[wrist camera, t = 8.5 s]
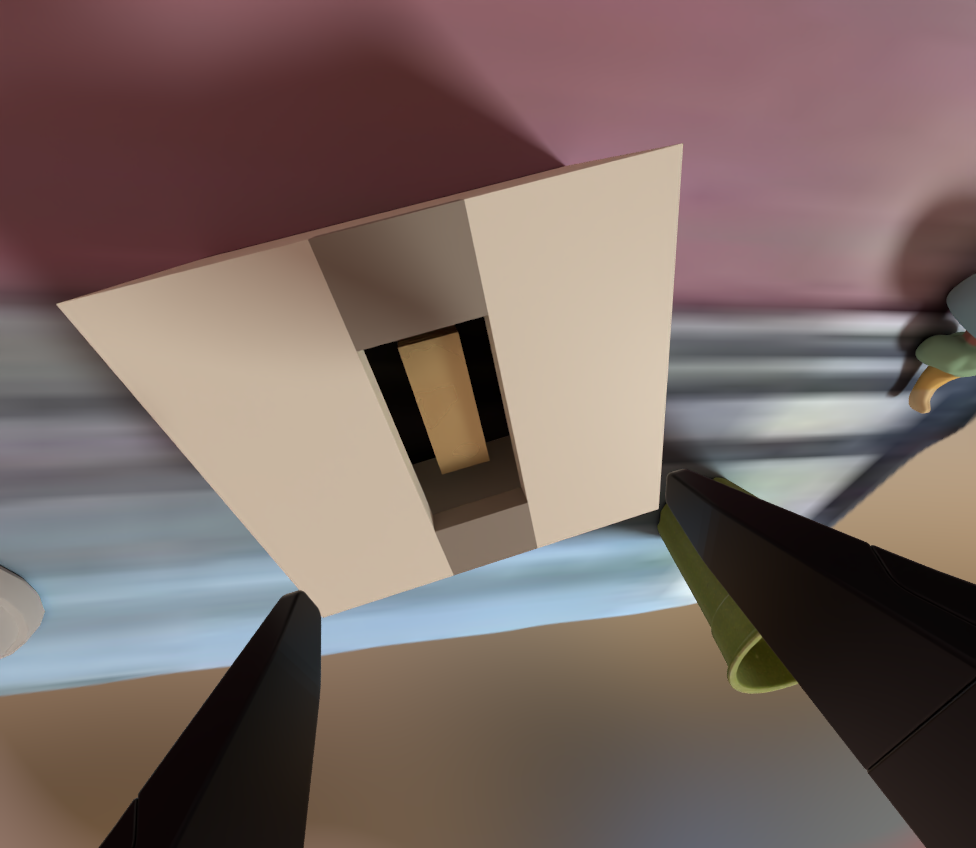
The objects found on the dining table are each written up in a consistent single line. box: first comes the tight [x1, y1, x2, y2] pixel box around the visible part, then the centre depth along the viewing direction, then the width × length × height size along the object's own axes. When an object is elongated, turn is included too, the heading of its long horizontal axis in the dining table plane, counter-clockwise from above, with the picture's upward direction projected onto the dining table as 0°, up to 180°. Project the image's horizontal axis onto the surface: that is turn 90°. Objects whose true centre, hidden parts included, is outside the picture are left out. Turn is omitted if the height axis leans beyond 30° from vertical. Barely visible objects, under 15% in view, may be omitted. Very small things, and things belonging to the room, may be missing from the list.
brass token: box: [398, 324, 490, 474], centre depth 17 cm, size 2×6×6 cm, turn 11°
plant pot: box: [657, 477, 798, 694], centre depth 27 cm, size 12×12×11 cm
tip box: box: [56, 143, 683, 618], centre depth 16 cm, size 16×14×8 cm
